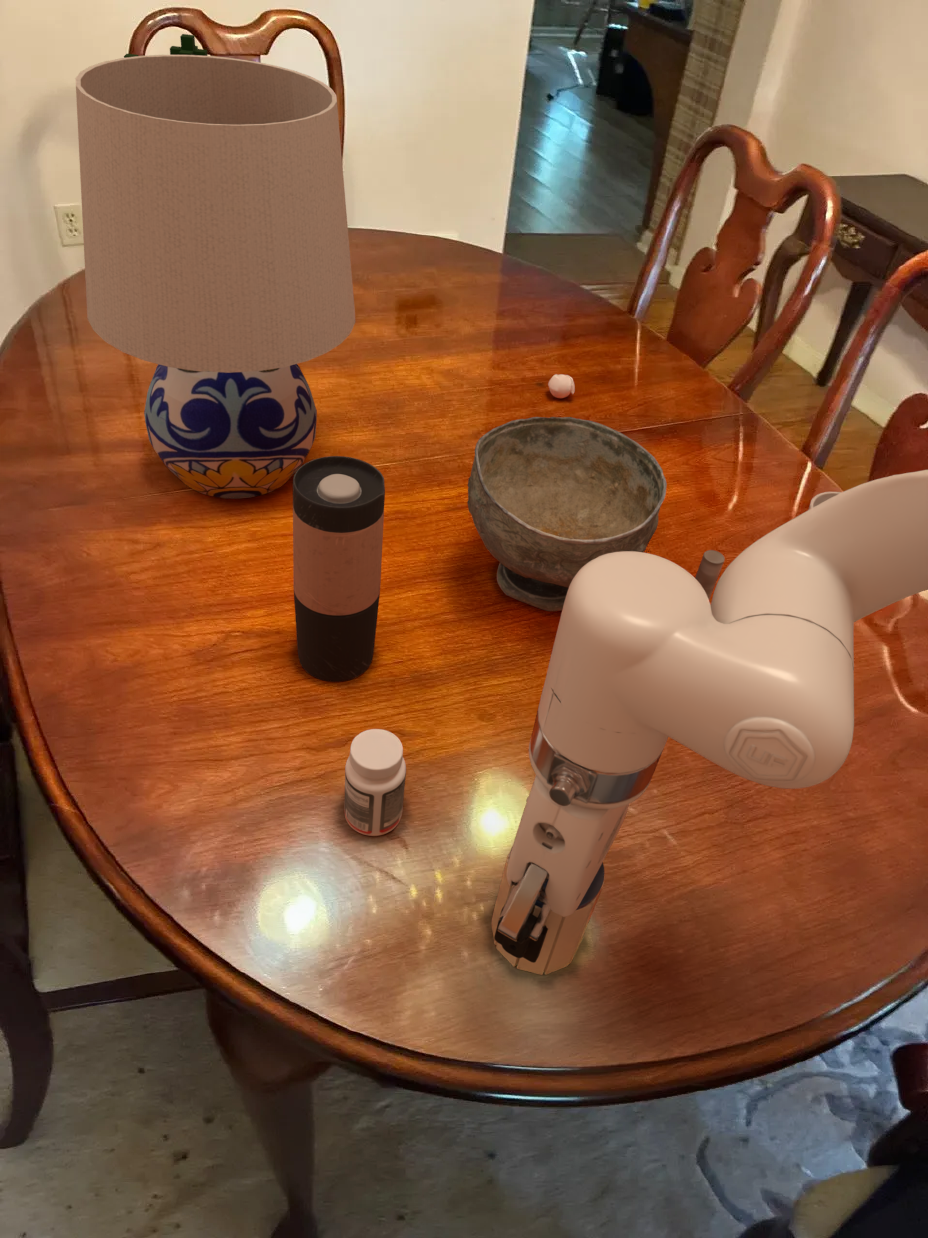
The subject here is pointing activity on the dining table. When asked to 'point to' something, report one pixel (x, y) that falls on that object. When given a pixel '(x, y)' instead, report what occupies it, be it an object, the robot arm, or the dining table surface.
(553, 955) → the blue topped tan cylinder
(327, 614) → the travel mug
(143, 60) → the table lamp
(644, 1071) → the dining table surface
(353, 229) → the dining table surface
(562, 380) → the garlic
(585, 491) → the bowl
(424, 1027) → the dining table surface
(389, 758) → the pill bottle
